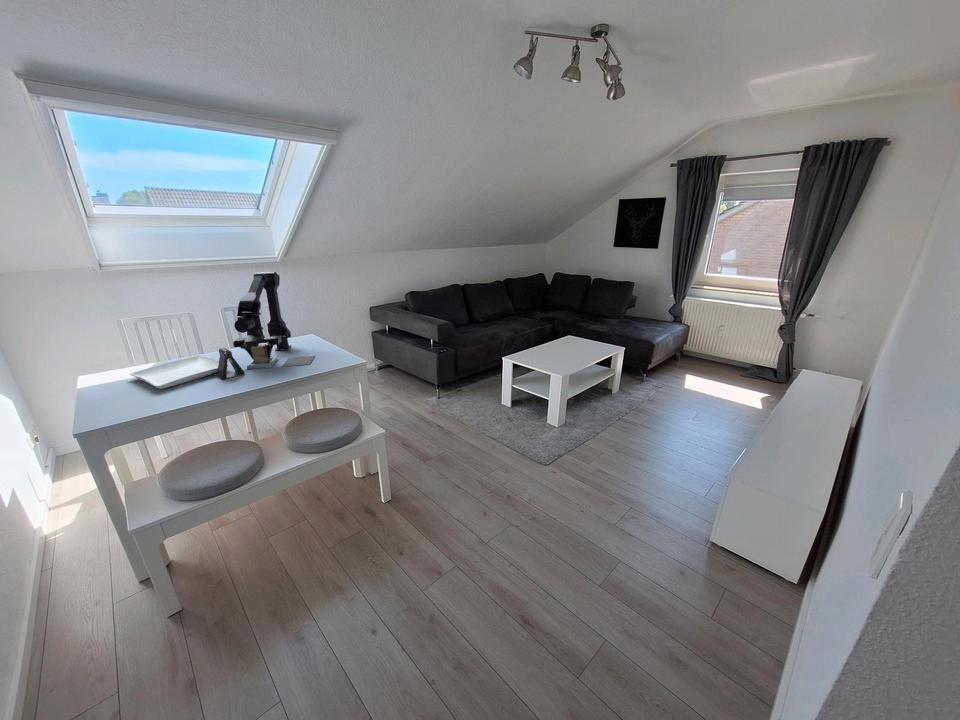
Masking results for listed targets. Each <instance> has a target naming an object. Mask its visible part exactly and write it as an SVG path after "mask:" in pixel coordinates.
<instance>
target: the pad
mask: <svg viewBox="0 0 960 720" xmlns="http://www.w3.org/2000/svg"><path fill="white" fill-rule="evenodd" d="M315 357H316V355H303V356H290V357H288V358H287V359H286V361H284V363H283V364H282V365H281V367H282V368H284V367H297V366H298V367H299V366H308V365H309V366H310V365H311V364H312V362H313V360H314V358H315Z"/></svg>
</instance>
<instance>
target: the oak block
mask: <svg viewBox="0 0 960 720" xmlns="http://www.w3.org/2000/svg"><path fill="white" fill-rule="evenodd" d="M266 345H267V343H259V345H258V346H257V347H251V351H252V355H253V359H254V364H266V363H269V362H270V359H269V358H268V353H267V348H266ZM253 359H252V360H253Z"/></svg>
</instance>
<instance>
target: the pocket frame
mask: <svg viewBox="0 0 960 720" xmlns="http://www.w3.org/2000/svg"><path fill="white" fill-rule="evenodd" d="M277 361H278V357H277V356H271V357H270V362H269V363H266V364H254V360H253V359H251V360H250V362H249V363H248V364H247V365H246V369H247V370H249V369H259V368H260V369H262V368H271V367H272V366H273V365H275V363H276V362H277Z"/></svg>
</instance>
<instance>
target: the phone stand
mask: <svg viewBox="0 0 960 720" xmlns="http://www.w3.org/2000/svg"><path fill="white" fill-rule="evenodd" d="M218 353H219V359H218V361H219V365H218V371H217V372H216V377H217V378H219V379H220V380H223V381H224V380H225V381H226V380H229V379H230V378H235V377H238V376H242V375H245V374H246V373H245V371H244V369H242V367H241V366H240V364H239V363H238V362H237V361H236V359H235V358H234V357H233V352H232V351H231V350H229V349H227V348H226V347H223V348H219V349H218ZM228 362H229V363H230V365H231V366H232V368H233V370H234V371H230V372H228V366H227V364H228Z"/></svg>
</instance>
